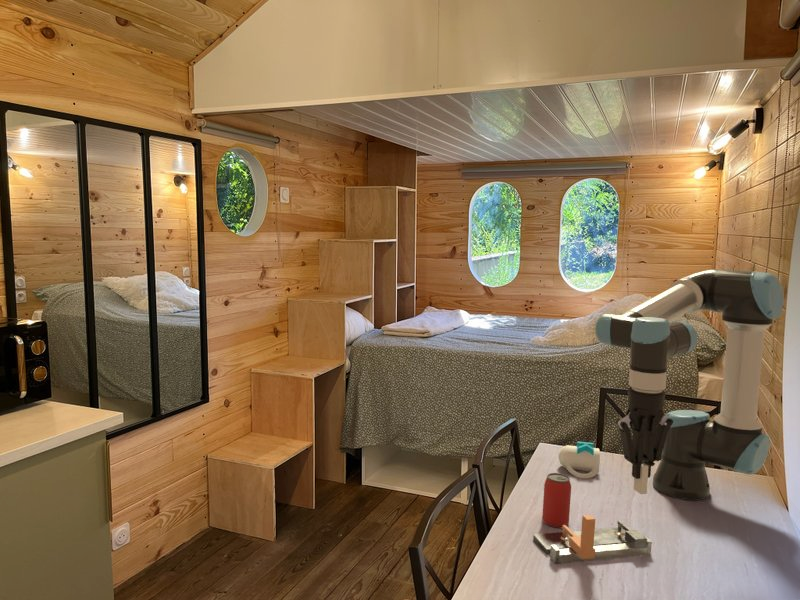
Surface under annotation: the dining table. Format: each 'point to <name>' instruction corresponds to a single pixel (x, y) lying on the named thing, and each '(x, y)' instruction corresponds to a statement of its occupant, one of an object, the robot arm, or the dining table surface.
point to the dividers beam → (608, 548)
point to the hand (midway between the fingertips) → (640, 491)
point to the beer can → (556, 500)
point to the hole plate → (600, 535)
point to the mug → (580, 459)
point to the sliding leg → (583, 538)
